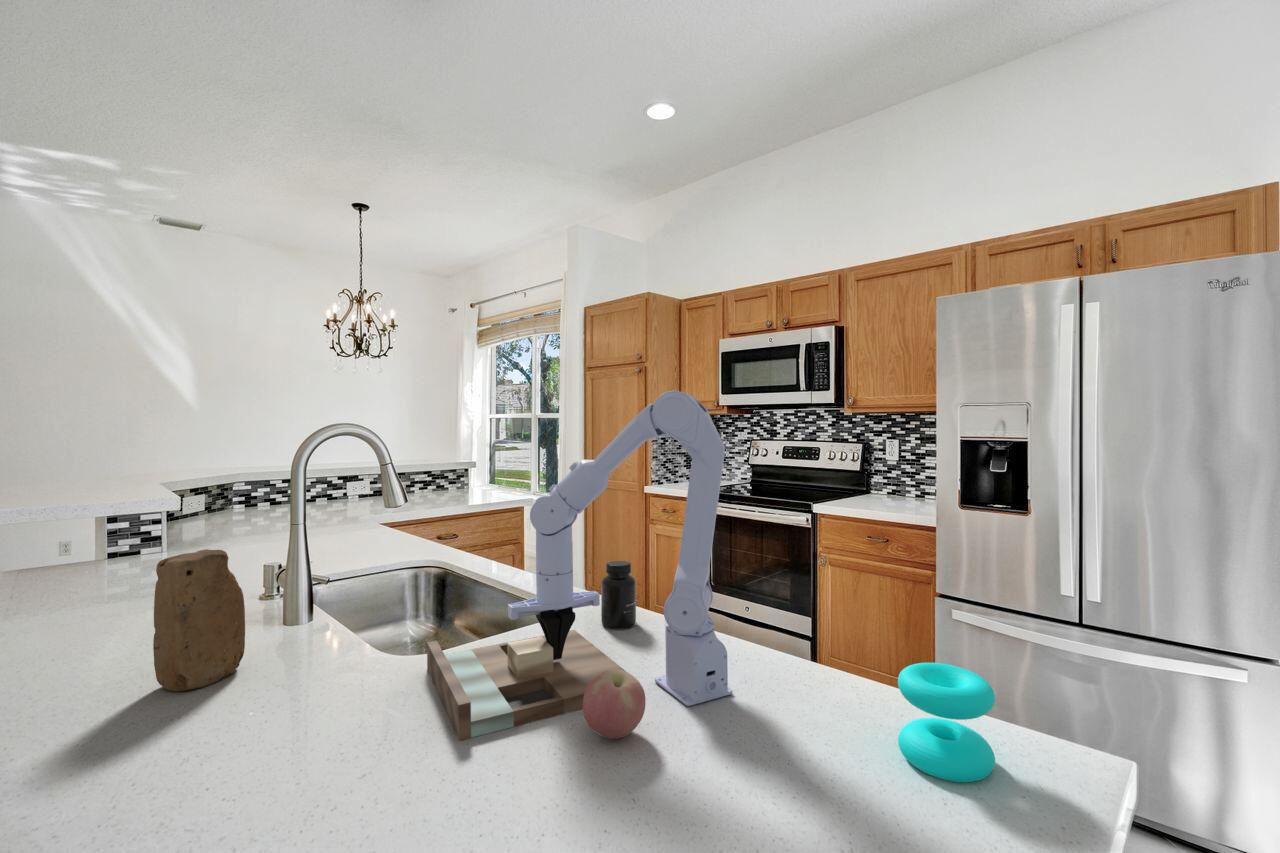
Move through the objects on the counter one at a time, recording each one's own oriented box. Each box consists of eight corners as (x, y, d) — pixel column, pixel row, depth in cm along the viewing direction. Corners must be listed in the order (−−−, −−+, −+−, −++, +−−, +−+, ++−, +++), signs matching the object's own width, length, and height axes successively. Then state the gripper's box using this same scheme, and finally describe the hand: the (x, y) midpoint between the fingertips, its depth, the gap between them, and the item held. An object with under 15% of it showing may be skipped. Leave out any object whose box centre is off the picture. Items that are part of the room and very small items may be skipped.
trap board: (638, 694, 87) (637, 663, 87) (459, 740, 75) (458, 705, 75) (574, 640, 108) (574, 616, 108) (427, 669, 96) (426, 642, 96)
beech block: (553, 671, 91) (553, 648, 91) (517, 678, 88) (517, 654, 88) (541, 658, 95) (541, 636, 95) (507, 665, 93) (507, 642, 93)
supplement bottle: (635, 630, 114) (635, 567, 114) (600, 630, 114) (599, 567, 114) (636, 618, 121) (636, 558, 120) (603, 618, 121) (602, 559, 121)
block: (176, 698, 87) (173, 562, 87) (149, 689, 90) (146, 557, 90) (252, 670, 97) (250, 547, 97) (225, 662, 100) (223, 543, 100)
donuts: (1005, 675, 69) (978, 704, 62) (1006, 761, 69) (979, 800, 62) (916, 652, 76) (883, 676, 69) (917, 730, 76) (884, 761, 69)
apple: (589, 757, 71) (588, 690, 71) (578, 725, 78) (577, 664, 78) (652, 746, 73) (652, 681, 73) (636, 717, 80) (636, 657, 80)
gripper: (587, 560, 101) (587, 640, 101) (502, 571, 94) (503, 657, 94) (604, 569, 94) (605, 654, 95) (514, 581, 88) (516, 673, 88)
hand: (555, 657), depth 94 cm, fingers closed
